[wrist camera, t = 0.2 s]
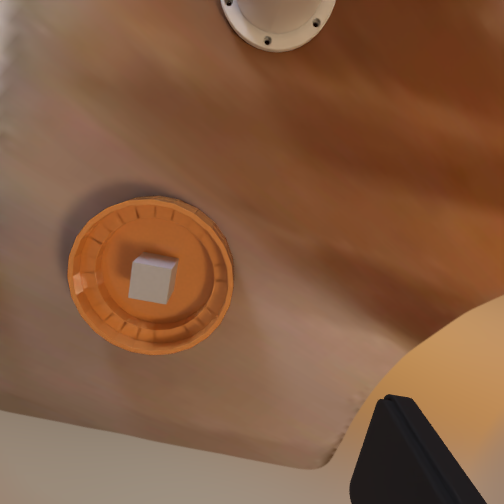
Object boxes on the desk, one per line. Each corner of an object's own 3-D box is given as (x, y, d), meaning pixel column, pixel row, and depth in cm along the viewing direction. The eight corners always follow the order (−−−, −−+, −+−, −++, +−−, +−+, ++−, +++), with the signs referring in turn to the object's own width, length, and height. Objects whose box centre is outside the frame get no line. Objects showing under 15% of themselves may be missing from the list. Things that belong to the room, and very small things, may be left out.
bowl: (91, 181, 43) (74, 183, 38) (247, 212, 44) (247, 218, 40) (78, 323, 47) (62, 340, 43) (219, 348, 49) (217, 366, 44)
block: (143, 251, 44) (132, 261, 40) (178, 258, 45) (171, 269, 40) (139, 284, 46) (127, 297, 41) (173, 291, 46) (166, 304, 41)
